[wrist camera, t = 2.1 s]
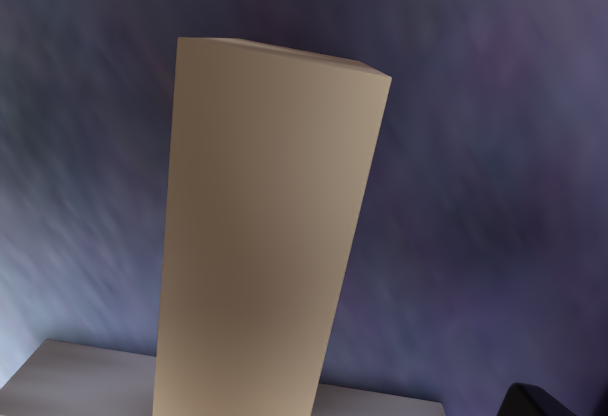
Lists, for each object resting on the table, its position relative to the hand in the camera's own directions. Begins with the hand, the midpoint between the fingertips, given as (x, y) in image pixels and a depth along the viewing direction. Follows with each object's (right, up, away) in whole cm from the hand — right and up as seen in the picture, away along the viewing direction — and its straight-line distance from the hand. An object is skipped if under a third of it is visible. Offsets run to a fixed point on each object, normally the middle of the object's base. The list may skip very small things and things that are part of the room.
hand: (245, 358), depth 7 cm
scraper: (0, +1, +5) cm, 6 cm away
